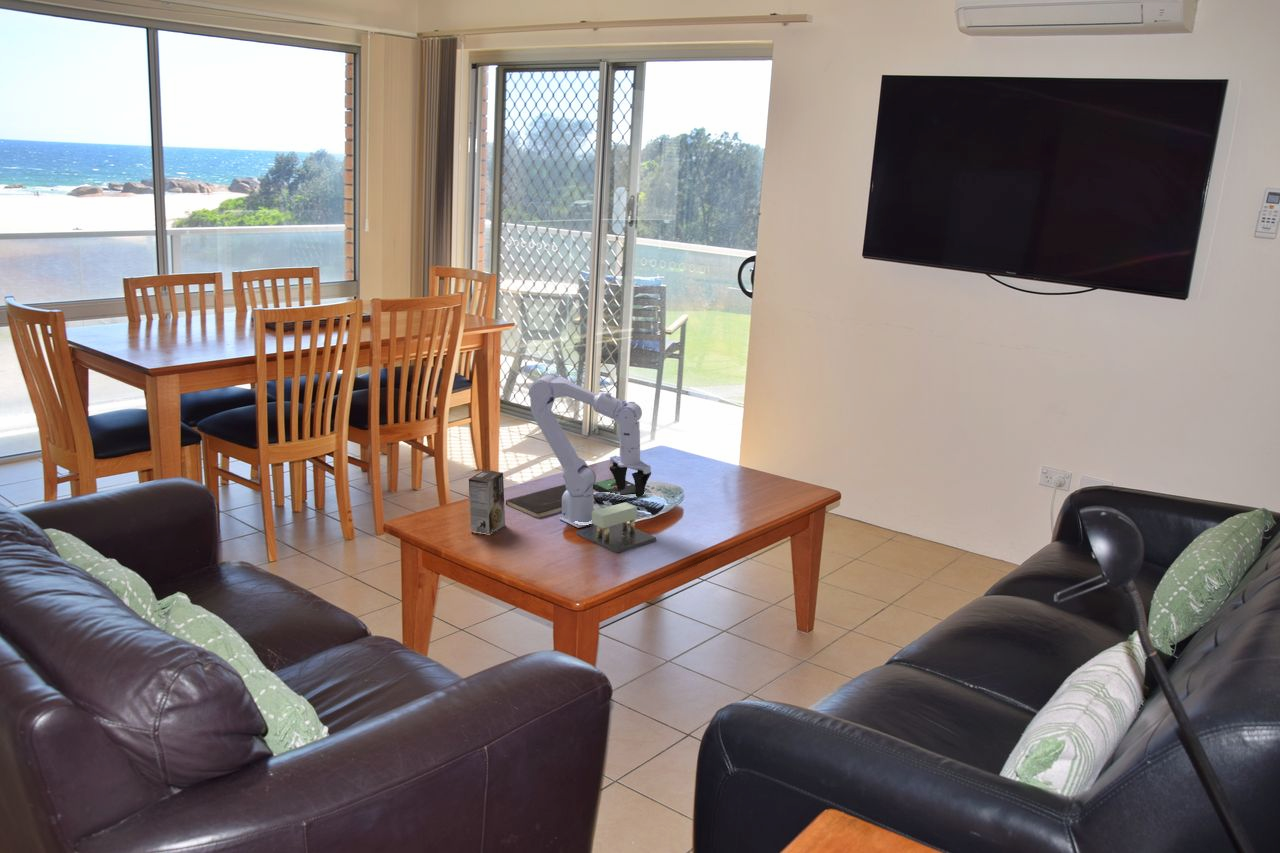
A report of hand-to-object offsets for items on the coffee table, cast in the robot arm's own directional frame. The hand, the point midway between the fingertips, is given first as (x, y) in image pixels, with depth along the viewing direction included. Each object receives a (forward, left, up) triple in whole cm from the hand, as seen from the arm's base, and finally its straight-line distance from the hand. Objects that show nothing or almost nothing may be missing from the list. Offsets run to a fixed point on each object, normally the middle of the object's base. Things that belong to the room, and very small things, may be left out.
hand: (630, 492), depth 291 cm
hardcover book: (-31, -5, -11) cm, 34 cm away
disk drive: (-26, +17, -11) cm, 33 cm away
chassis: (+4, -8, -10) cm, 14 cm away
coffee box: (-24, -32, -11) cm, 42 cm away
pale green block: (+4, -9, -5) cm, 11 cm away
